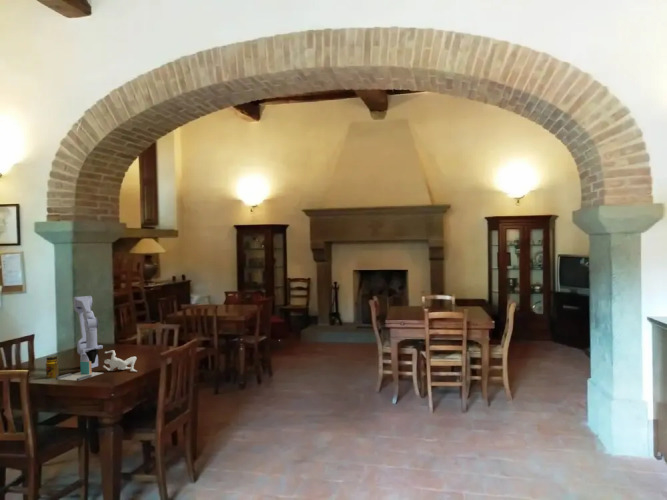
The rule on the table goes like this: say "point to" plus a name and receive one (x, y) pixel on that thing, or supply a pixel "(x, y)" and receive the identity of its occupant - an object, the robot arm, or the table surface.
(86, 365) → the tile
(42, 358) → the table surface
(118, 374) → the table surface
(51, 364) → the condiment
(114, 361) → the person figurine
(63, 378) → the board
